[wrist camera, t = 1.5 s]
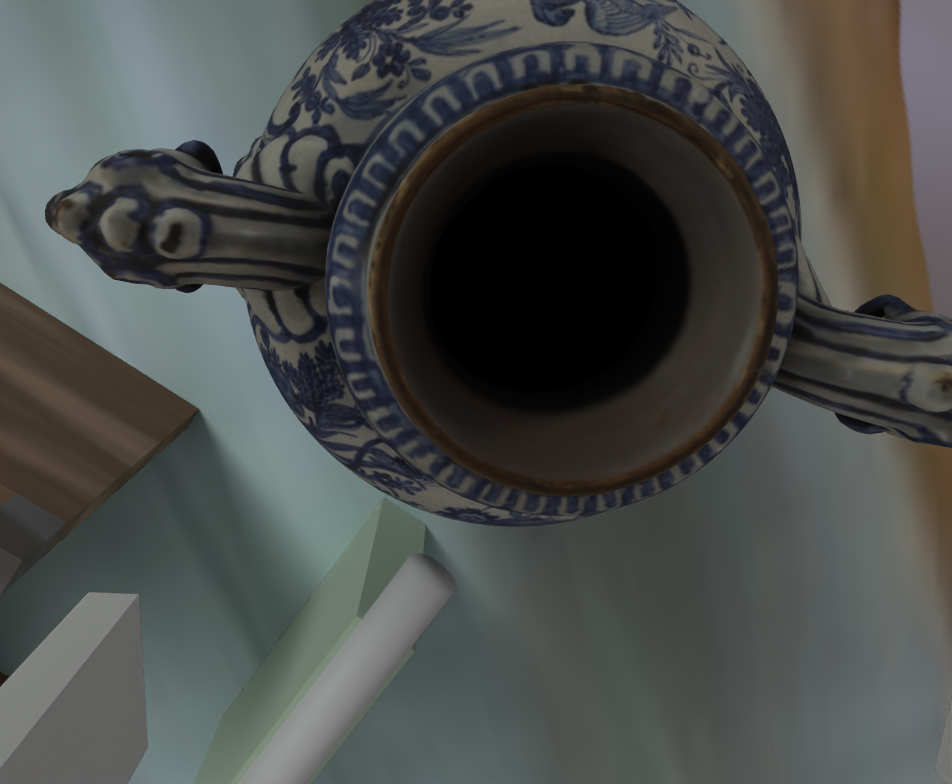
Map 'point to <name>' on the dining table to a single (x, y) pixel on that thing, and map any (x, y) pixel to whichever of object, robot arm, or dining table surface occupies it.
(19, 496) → the cabinet
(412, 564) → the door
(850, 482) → the dining table surface
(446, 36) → the decorative vase
